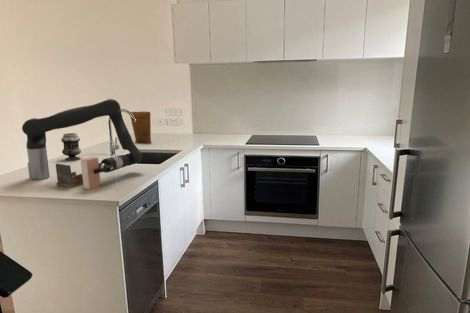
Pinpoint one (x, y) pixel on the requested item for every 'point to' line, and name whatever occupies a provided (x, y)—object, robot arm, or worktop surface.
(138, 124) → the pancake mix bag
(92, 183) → the salmon pink rectangular block
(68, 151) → the dark grey pedestal urn
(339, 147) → the worktop surface
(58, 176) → the rack
